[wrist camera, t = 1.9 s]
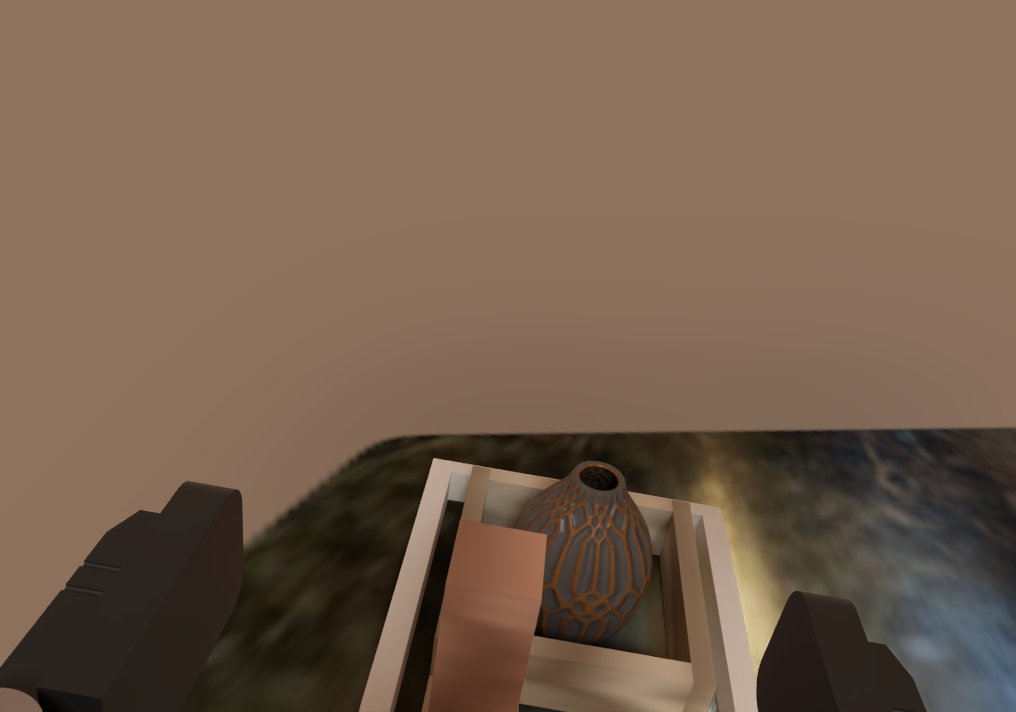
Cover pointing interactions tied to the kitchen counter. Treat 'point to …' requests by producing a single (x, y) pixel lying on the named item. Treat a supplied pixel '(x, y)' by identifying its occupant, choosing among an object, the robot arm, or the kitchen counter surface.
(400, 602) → the rail lane
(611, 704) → the square wooden tray
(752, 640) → the kitchen counter surface
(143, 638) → the robot arm
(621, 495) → the vase
